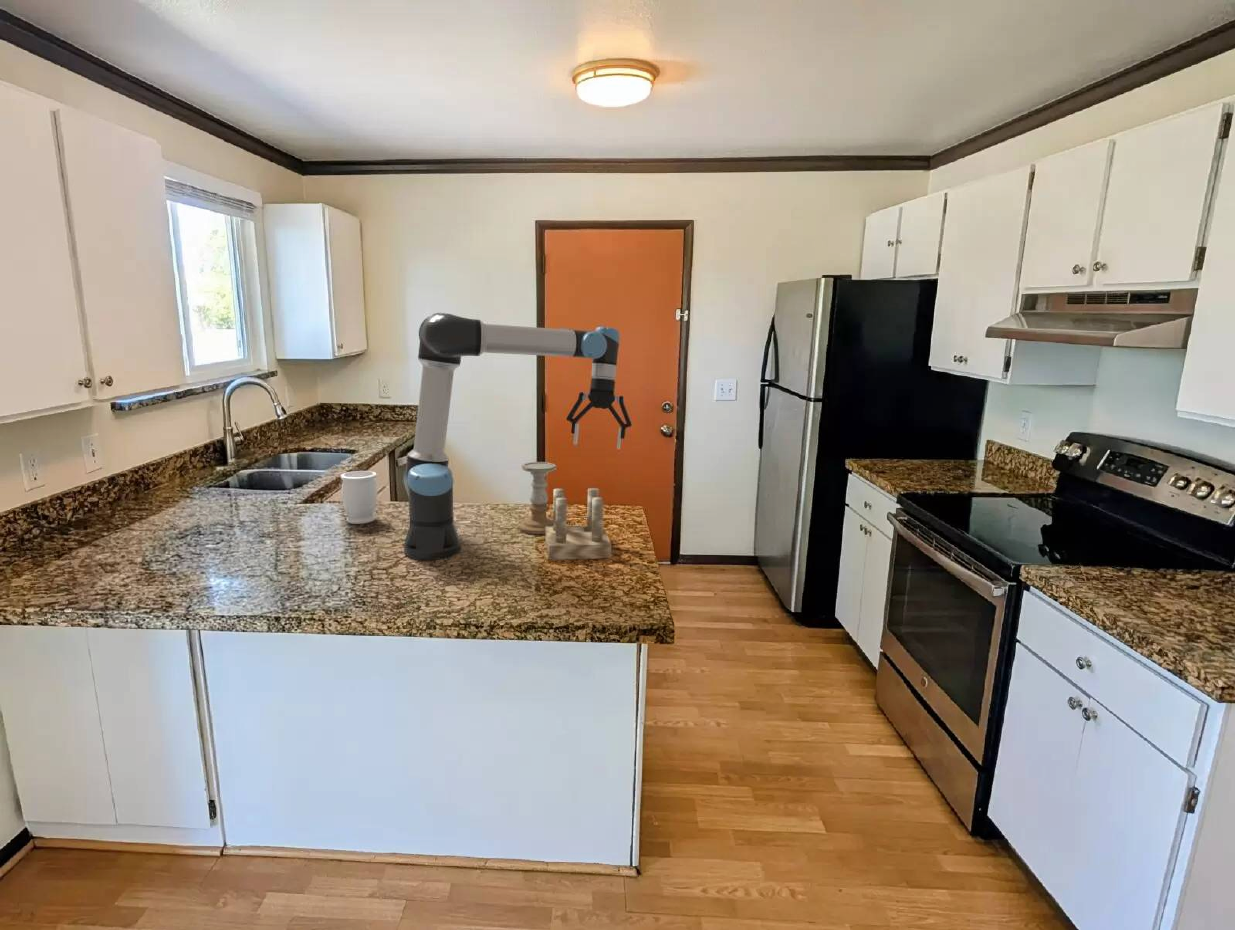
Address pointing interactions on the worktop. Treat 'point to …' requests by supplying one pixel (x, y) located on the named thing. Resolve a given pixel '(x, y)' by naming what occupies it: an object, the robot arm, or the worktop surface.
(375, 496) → the jar
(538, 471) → the candle holder
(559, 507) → the stool
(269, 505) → the worktop surface
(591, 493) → the stool leg
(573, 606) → the worktop surface
